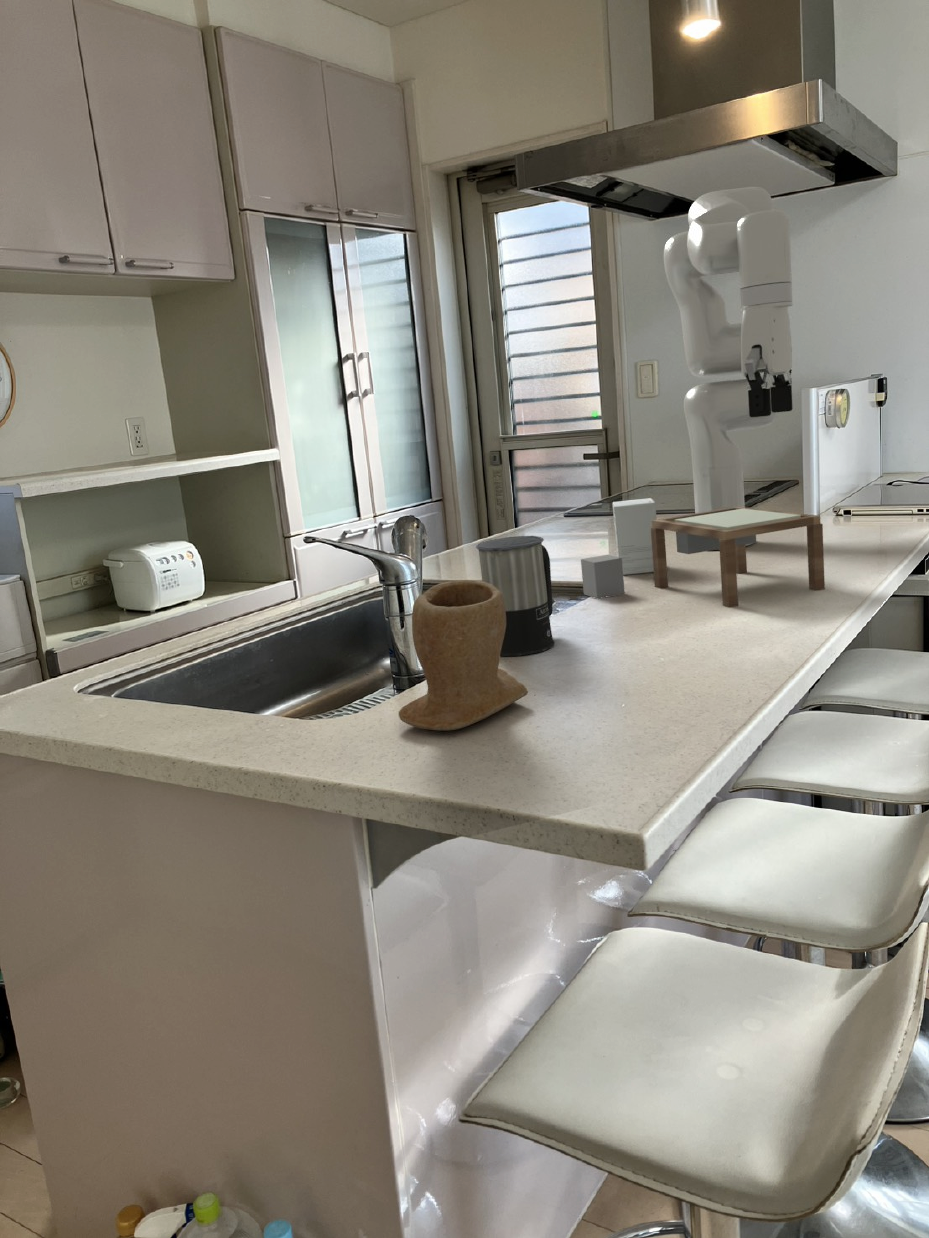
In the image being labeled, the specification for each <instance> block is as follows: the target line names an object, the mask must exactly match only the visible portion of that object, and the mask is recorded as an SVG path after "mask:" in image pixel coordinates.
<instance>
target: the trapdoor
mask: <svg viewBox="0 0 929 1238" xmlns="http://www.w3.org/2000/svg"><path fill="white" fill-rule="evenodd" d="M796 518H801V515H795V514H786V513H777V512H768V511H760V510H751V509H738V510H731V511H725V512H719V513H713V514H706V515H700V516H694V517H688V518H682V519H675V522H679V523H685V524H692V525H699V526H705V527H712V528H718V529H725V530H730V529H736V528H742V527H748V526H754V525H760V524H766V523H772V522H778V521H784V520H790V519H796ZM675 537H676V549H677V550H676V552H677V553H681V554H685V555H692V554H698V553H704V552H710V551H716V549H719V539H717V538H711V537H705V536H699V535H693V534H687V533H681V532H675ZM734 539H735V546H739V545H745V544H751V543H753V544H755V543H757V535H752V536H746V537H740V538H734ZM751 545H752V544H751Z"/></svg>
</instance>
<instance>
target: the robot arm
mask: <svg viewBox="0 0 929 1238" xmlns="http://www.w3.org/2000/svg"><path fill="white" fill-rule="evenodd" d="M774 208H775V207H774V204H773V199H772V197H771V195H770V194H769V192H768V191H767V190H766V189H765V188H763V187H761V186H747V187H739V188H731V189H730V188H729V189H721V190H715V191H710V192H707V193H704V194H702V195H700V196H698V197H697V199H695V200H694V202H693V203H691V206H690V208H689V210H688V214H687V215H688V216H687V222H688V225H689V230H687V231H683V232H679V233H676V234H674V235H673V236H670V238H669V239H668V240H667V241H666V243H665V245H664V248H663V266H664V271H665V276H666V280H667V283H668V286H669V288H670V290H671V292H672V295H673V297H674V299H675V301H676V303H677V306H678V309H679V312H680V313H679V314H680V320H681V321H680V322H681V330H682V337H683V346H684V347H683V348H684V355H685V362H686V366H687V368H688V371H689V373H690V374H691V375H693V376H694V377H696V378H714V377H726V376H733V375H743V377H745V378H741V379H740V378H739V379H733V380H732V379H731V380H730V379H729V380H720V381H712V382H711V381H710V382H705V383H701V384H699V385H698V384H697V385H695V386H693V387H692V388H690V389H689V390H688V391H687V392H686V394H685V396H684V398H683V399H684V400H683V411H684V417H685V421H686V426H687V431H688V437H689V438H688V439H689V443H690V444H689V445H690V453H691V465H692V466H691V468H692V478H693V480H692V481H693V495H694V496H693V497H694V499H693V500H694V511H695V513H702V512H708V511H714V510H720V509H727V508H733V507H745V508H746V506H745V505H746V503H745V489H744V483H745V482H744V467H743V455H742V451H741V450H740V448H739V447H738V445H737V444H736V443H735V441H734V440H732V439H731V438H730V437H729V435H728V433H729V432H734V431H740V430H743V431H744V430H751V429H759V428H764V427H767V426H770V425H772V424H773V423H774V422H775V421H776V419H777V417H778V416H777V415H778V414H779V413H785V412H792V411H793V391H792V390H793V388H792V386H793V385H792V383H793V378H792V377H791V376H792V371H793V370H792V367H793V349H792V348H793V347H792V344H793V343H792V334H791V333H792V332H791V324H790V316H789V307H792V306H793V305H794V303H793V285H792V259H791V257H792V256H791V254H792V253H791V232H790V228H791V227H790V220H789V216H788V214H787V213H786V212H785V211H784V210H781V209H774ZM732 273H738V276H739V278H738V279H739V280H738V281H739V297H740V300H739V301H740V313H742V318H741V322H740V323H739V322H738V323H729V321H728V318H727V311H726V302H725V300H724V298H723V297H722V295H721V294H720V292H719V291H718V290H717V289H716V288H715V287H714V286H713V285H712V284H710V283H709V282H708V281H707V280H705V279H704V278H702V277H705V276H707V277H708V276H715V275H716V276H717V275H724V274H725V275H726V274H732ZM695 513H694V514H695ZM753 544H754V543H751V544H746V547H748V546H750V545H753ZM716 550H719V551H720V549H716ZM716 550H715V551H716Z"/></svg>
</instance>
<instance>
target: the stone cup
mask: <svg viewBox="0 0 929 1238" xmlns="http://www.w3.org/2000/svg"><path fill="white" fill-rule="evenodd" d="M505 629H506V612H505V605H504V600H503V596H502V594H501V592H500V591H499V590H498V588H496V587H494V586H493V585H491V584H489V583H485V582H482V580H475V579H474V580H472V579H456V580H451V581H446V582H440V583H438V584H435V585H434V586H432V587H431V586H430V587H429V588H428V589H427V590H426V591H425V592H424V593H422V594H419V595H418V596H417V598H416V599H415V600H414V603H413V606H412V610H411V631H412V642H413V646H414V650H415V653H416V657H417V659H418V662H419V665H420V667H421V668H422V671H423V674H424V677H425V681H426V685H427V692H426V694H424V695H422V696H420V697H418V698H417V699H414V700H413V701H410V702H409V703H407V704H406V705H404V706H403V707H401V709H400V710H399V711H398V714H397V715H398V717H399V720H401V721H402V722H403V723H405V724H406V725H409V726H411V727H414V728H418V729H424V730H432V731H454V730H455V731H456V730H459V729H463V728H466V727H468V726H471V725H473V724H475V723H478V722H480V721H483V720H484V719H487V718H488V717H490V716H492V715H494V714H496V713H497V712H499V711H501V710H503V709H504V708H506V707H509V706H510V705H511V704H514V703H515V702H517V701H518V700H520V699H522V698H523V697H525V696H527V694H528V693H529V691H528V689H527V687H526V686H525V685H524V684H523V682H521V681H519V680H517V678H515V677H514V676H513V675H509V673H508V672H507V671H506V670H504V669H502V668H500V667H499V663H500V659H501V655H500V653H501V648H502V644H503V639H504V635H505Z"/></svg>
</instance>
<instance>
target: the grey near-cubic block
mask: <svg viewBox="0 0 929 1238" xmlns="http://www.w3.org/2000/svg"><path fill="white" fill-rule="evenodd" d="M580 565H581V566H580V567H581V577H582V578H581V579H582V589H583V595H585V596H588V597H591V598H593V597H595V598H594V599H596V598H598V599H602V598H601V597H604V598H607V597H606V596H609V597H615V596H620V595H625V594H624V593H625V580H624V575H623V566H622V558H620V557H617V555H616V556H615V555H611V554H605V555H604V554H603V555H598V556H591V557H586V558H580ZM619 594H620V595H619Z"/></svg>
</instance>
